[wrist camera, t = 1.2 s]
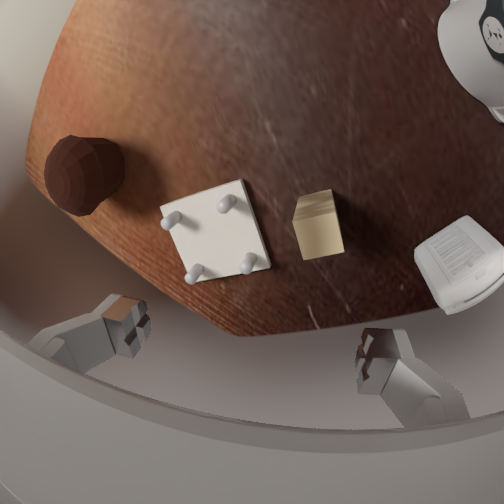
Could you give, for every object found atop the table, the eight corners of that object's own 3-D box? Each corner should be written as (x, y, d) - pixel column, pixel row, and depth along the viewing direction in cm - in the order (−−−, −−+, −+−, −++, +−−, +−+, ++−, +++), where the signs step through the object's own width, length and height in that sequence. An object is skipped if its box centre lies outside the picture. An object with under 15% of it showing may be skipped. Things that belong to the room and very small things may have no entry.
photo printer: (419, 272, 34) (448, 331, 23) (408, 248, 33) (438, 304, 22) (477, 235, 30) (522, 281, 19) (467, 209, 29) (517, 249, 18)
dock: (242, 178, 34) (233, 185, 31) (271, 264, 39) (265, 279, 35) (163, 204, 38) (148, 214, 35) (194, 278, 42) (184, 293, 39)
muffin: (145, 162, 36) (98, 179, 27) (112, 216, 41) (70, 242, 32) (96, 115, 34) (46, 122, 25) (69, 170, 39) (25, 187, 30)
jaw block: (331, 189, 32) (335, 212, 25) (338, 220, 34) (344, 252, 26) (298, 196, 34) (292, 221, 26) (307, 227, 35) (303, 260, 27)
